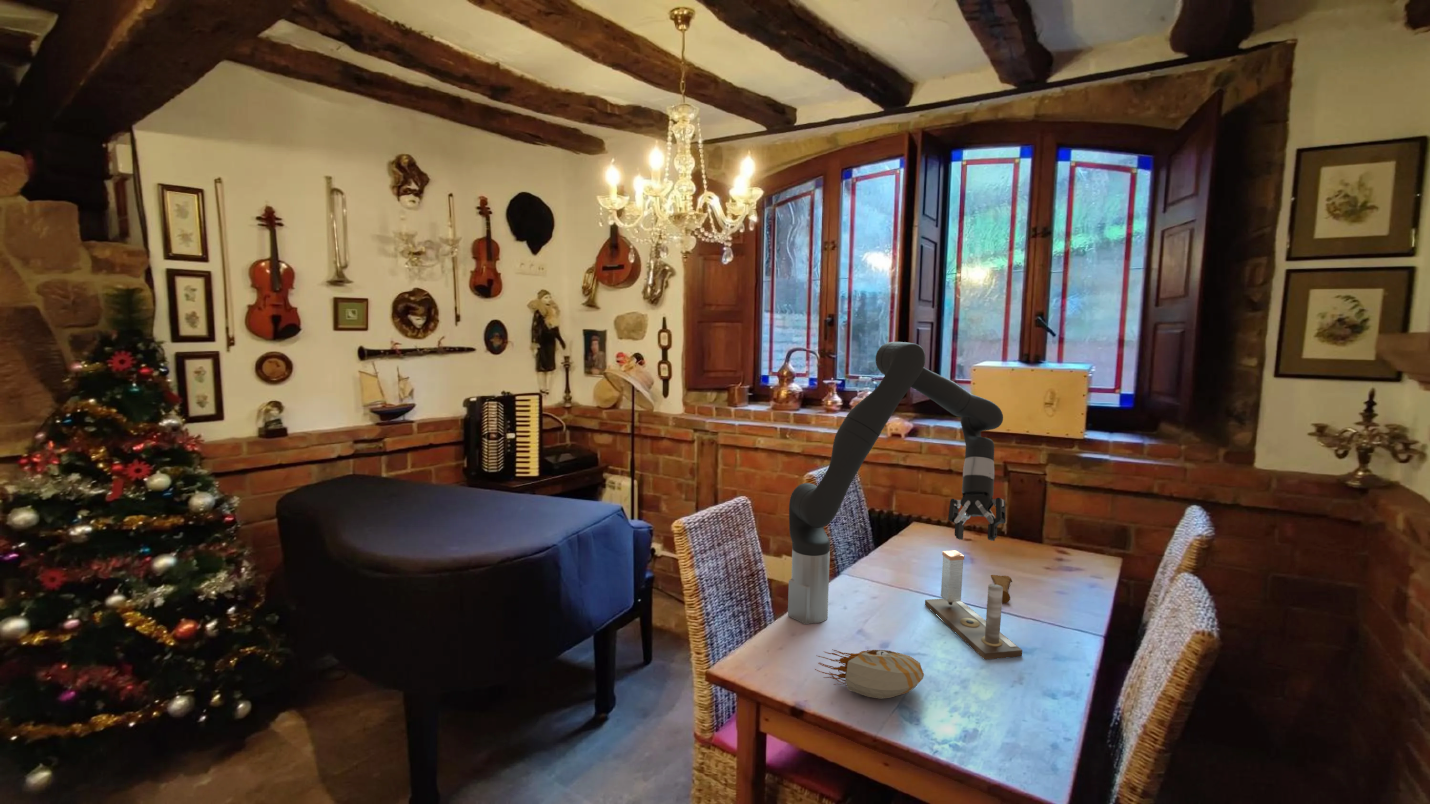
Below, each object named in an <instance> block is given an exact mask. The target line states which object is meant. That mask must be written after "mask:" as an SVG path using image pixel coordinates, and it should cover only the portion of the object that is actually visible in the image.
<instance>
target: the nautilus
mask: <svg viewBox="0 0 1430 804" xmlns="http://www.w3.org/2000/svg"><path fill="white" fill-rule="evenodd" d="M831 651H833V652H828V651H823V652H824V653H825V654H829V655H833V656H836V657H837V656H838V657H839V659H832V658H829V657H825V656H820V655H817V654H816V657H819V658H823V659H826V660H830V661H831V662H837V663H838V664H841V665H840V666H833V665H828V664H825V663H822V662H817V663H818V665H820V666H822V667H825V668H829V669H830V670H836V671H838V673H839V674H837V673H833V672H830V671H828V672H829V673H828V672H824V671H820V670H818V669H817V668H814V670H815V671H816V672H818V673H819V672H820V673H822V674H826V675H829V676H824V677H822V678H824V679H828V678H829V679H835V680H836V682H838V685H839V686H840V685H844V686H845V687H846V686H847V690H848V691H851V692H853V693H857V694H858V695H862V696H865V697H868V698H874V699H889V698H893V697H895V698H896V697H897V696H901V695H904V694H905V695H906V694H908V693H909V692H911V691H912V690H913V689H915V688H916V687H917V685H918V684H920V682H921V681H922V680H923V679H924V676H925V674H924V671H923V669H922V665H921V662H919V661H918V660H916V658H914V657H912V656H911V655H907V654H903V653H901V652H895V651H892V650H887V649H886V650H885V649H870V650H869V649H867V650H863V651H859V652H858V653H854V652H853V653H850V652H842V651H839V650H838V649H831ZM840 654H841V655H840ZM830 675H831V676H832V677H831V676H830ZM834 676H835V677H834ZM833 685H835V686H836V685H837V683H834V684H833Z"/></svg>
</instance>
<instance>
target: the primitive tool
mask: <svg viewBox="0 0 1430 804" xmlns="http://www.w3.org/2000/svg"><path fill="white" fill-rule="evenodd" d="M990 577H991V580H992V582H993V584H996V585H1000V586H1002V587H1003V594H1002V604H1007V603H1009V602H1010V601H1011V596H1010V593H1009V592H1008V588H1009V587H1010V583H1011V582H1012V581H1013V580H1012V577H1010V576H1009V575H997V574H991V575H990Z"/></svg>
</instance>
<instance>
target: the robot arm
mask: <svg viewBox="0 0 1430 804" xmlns="http://www.w3.org/2000/svg"><path fill="white" fill-rule="evenodd" d="M875 364H876V368H877V370H878V371H879V372H880V373H881V374H882V375H883V378H882V379H881V381H880V382H879V384H878V385H877V386H876V388H875V389H874V390H873V391H872V392H870V393H869V394H868V395H867V396H865V397H864V398H863V399H862V400H861V401H859V402H858V403H857V404H856V405H855V406H854V407H853V408H851V409H850V411H849V412H848V413H847V415H846V417H845V418H844V420H843V421H842V423H841V424H840V426H839V428H838V430H837V431H836V434H835V436H834V439H833V444H832V452H831V458H830V462H829V465H828V468H827V469H826V472H825V473H824V475H823V477H822V478H821V480H820V482H819V483H818V485H816V484H813V483H811V482H805V483H800V484H799V485H797V486H796V487H795V488H794V489H793V491H792V492H791V495H790V498H789V505H788V523H789V529H788V530H789V531H788V532H789V536H790V539H791V544H792V546H791V548H792V549H791V550H792V551H791V578H790V579H789V580H788V592H787V593H788V594H787V595H788V596H787V599H788V601H787V603H788V604H787V616H788V617H789V618H792V619H794V620H795V621H798V622H800V623H802V624H803V625H808V624H819V623H822V622H825V621H826V620H827V619H828V618H829V617H828V615H829V588H830V587H829V586H830V584H829V583H830V580H829V579H830V559H831V558H830V556H831V555H830V554H831V553H830V552H831V542H830V541H831V540H830V538H829V536H828V535H827V533H826V530H825V528H824V527H826V526H827V525H829V524H830V523H831V522H832V521H833V520H834V518H835V516H837V515H838V512H839V510H840V508H841V505H842V503H843V501H844V499H845V496H846V495H847V492H848V491H849V488H850V487H851V484H852V483H853V481H854V479H855V478H856V475H857V474H858V472H859V470H860V469H861V467H862V465H863V463H864V461H865V460H866V458H867V456H868V455H869V453H870V452H871V450H872V448H873V447H874V446H875V444H876V442H877V441H878V438H879V437H880V435H881V433H882V431H883V430H884V428H885V426H886V425H887V423H888V421H889V420H890V418H891V417H892V415H893V413H894V412H895V410H896V409H897V407H898V406H899V404H900V402H901V401H902V400H903V398H904V397H905V395H906V394H907V392H908V391H909V390H910V389H911V388H912V389H913V390H916V391H917V392H919V393H920V394H922V395H923V396H925V397H927V398H928V399H930V401H933V402H935V403H936V404H937V405H939V407H941V408H943V409H944V410H946V411H947V412H949V413H950V414H951V415H953V416H954V417H955V416H956V417H960V425H961V430H962V433H963V435H962V436H963V438H964V443H965V450H964V451H965V453H964V455H965V456H964V463H963V468H962V469H963V470H962V487H961V494H962V497H961V499H954V498H951V499H950V501H949V507H948V508H949V509H948V517H947V520H948V521H949V522H952V523H953V524H954V536H955V538H956V540H960V541H962V540H963V539H964V529H965V528H964V527H965V526H964V524H965V523H966V522H967V520H969V519H970V518H971V517H973V518H974V517H975V518H976V517H981V518H982V517H983V518H986V521H987V522H988V524H987V540H988V541H990V542H992V541H993V542H995V540H996V539H997V537H998V526H999V525H1001V524H1005V523H1006V522H1007V521H1006V520H1007V519H1006V518H1007V517H1006V516H1007V515H1006V512H1007V511H1006V500H1005V499H1002V498H1000V497H997V498H994V489H995V488H994V487H995V476H996V475H995V463H994V462H995V443H994V441H993V440H992V439H991V438H988V437H983V436H982V432H984V431H991V430H995V429H997V428H999V427H1000V426H1001V425H1002V423H1003V420H1004V415H1003V411H1002V410H1001V408H1000V407H999V406H998V405H997V404H996V403H995V402H993V401H991V400H988V399H986V398H984V397H982V396H981V397H980V396H979V395H975V394H972V393H970V392H969V391H968V390H967V389H965V388H963V387H962V386H960V385H959V384H957V383H956V382H954V381H952V380H951V379H949V378H947V377H944V376H943V375H941V374H938V373H936V372H933V371H932V370H929V369H928V368H926V367H925V365H926V352H925V351H924V348H923V347H922V346H921V345H919V344H918V343H915V342H906V341H904V342H903V341H890V342H886V343H884V344H883V345H881V346H880V347H879V348H878V350H877V352H876V354H875ZM961 506H962V508H961ZM993 506H994V507H995V515H994V513H993V511H992V510H991V509H992V508H993ZM960 508H961V509H960Z"/></svg>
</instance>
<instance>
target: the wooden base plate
mask: <svg viewBox="0 0 1430 804" xmlns="http://www.w3.org/2000/svg"><path fill="white" fill-rule="evenodd" d="M1002 594H1003V587H1002V586H1000V585H996V584H994V583H991V584H988V587H987V601H986V614H985V615H986V616H985V619H984V618H983V617H982V616H981V615H980V614H978V613H977V612H976V611H974V610H973V609H972V608H971V607H969V606H968V605H967V604H966V603H965V602H963V601H962V600H961V601H959V602H953V604H952V605H949V604H948V602H947V601H946V600H945V599H943V598H931V599H925V600H924V606H925V605H926V606H927V607H928V608H929V609H928V608H927V607H926V606H925V607H926V608H927V609H928V610H930V609H931V610H932V611H933V612H934V613H935V614H937V615H938V616H939V617H940V618H941V619H942V620H943V621H944V622H945V623H946V624H947V625H948V626H949V627H950V628H951V630H952V632H954V633H955V632H956V633H957V634H958V635H959V636H960V637H961V638H962V639H963V642H965V643H966V644H967V643H968V644H969V645H970V646H971V647H972V648H973V649H974V650H973V649H972V648H971V647H970V646H969V645H968V644H967V645H968V646H969V647H970V648H971V649H972V650H973V651H974V652H976V653H977V655H979V656H980V658H982V659H983V658H984V659H985V660H987V659H988V660H997V658H999V659H1007V658H1006V657H1010V658H1018V657H1017V656H1022V657H1023V649H1022V648H1021V647H1019V646H1018V645H1017V644H1016V643H1014V642H1013V640H1010V639H1009V638H1008V637H1007V636H1006V635H1004V634H1003V633H1002V632H1001V621H1002V619H1001V618H1002V605H1003V603H1002ZM931 610H930V611H931ZM932 611H931V612H932ZM933 612H932V613H933ZM934 613H933V614H934ZM935 614H934V615H935ZM941 619H940V620H941ZM942 620H941V621H942ZM943 621H942V622H943ZM944 622H943V623H944ZM945 623H944V624H945ZM946 624H945V625H946ZM947 625H946V626H947ZM948 626H947V627H948ZM949 627H948V628H949ZM950 628H949V629H950ZM956 633H955V634H956ZM957 634H956V635H957ZM958 635H957V636H958ZM959 636H958V637H959ZM960 637H959V638H960ZM962 639H961V640H962ZM984 659H983V660H984ZM985 660H984V661H985Z"/></svg>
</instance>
